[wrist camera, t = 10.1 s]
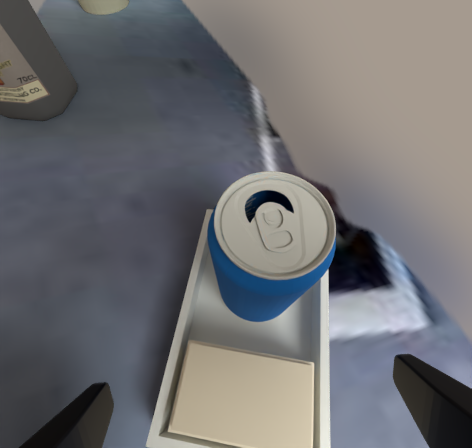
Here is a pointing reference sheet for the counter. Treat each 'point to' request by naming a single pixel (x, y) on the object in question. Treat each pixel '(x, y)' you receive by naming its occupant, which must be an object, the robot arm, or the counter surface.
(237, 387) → the beige rectangular block
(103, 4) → the reusable coffee cup
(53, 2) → the counter surface
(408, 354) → the robot arm
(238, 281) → the beverage can
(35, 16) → the liquor
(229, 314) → the white rectangular tray
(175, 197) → the counter surface
